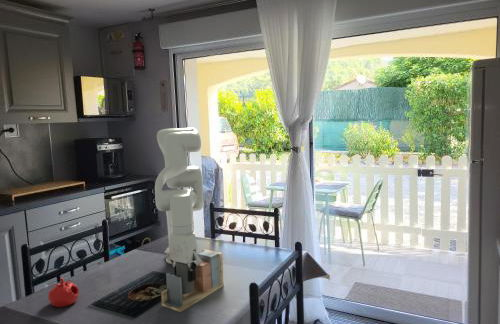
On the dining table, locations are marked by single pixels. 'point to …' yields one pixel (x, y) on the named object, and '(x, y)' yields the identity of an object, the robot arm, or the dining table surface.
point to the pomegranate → (63, 294)
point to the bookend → (174, 290)
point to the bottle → (184, 277)
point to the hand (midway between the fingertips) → (185, 278)
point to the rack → (202, 280)
